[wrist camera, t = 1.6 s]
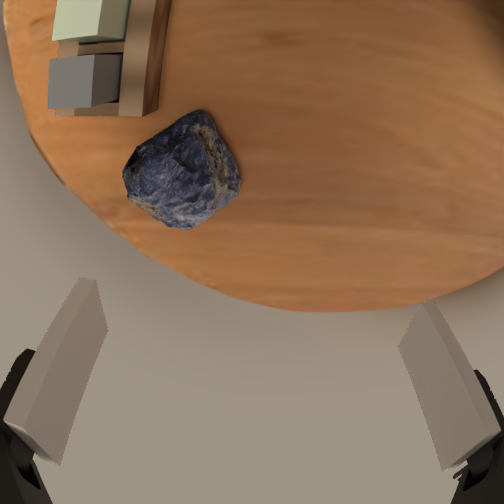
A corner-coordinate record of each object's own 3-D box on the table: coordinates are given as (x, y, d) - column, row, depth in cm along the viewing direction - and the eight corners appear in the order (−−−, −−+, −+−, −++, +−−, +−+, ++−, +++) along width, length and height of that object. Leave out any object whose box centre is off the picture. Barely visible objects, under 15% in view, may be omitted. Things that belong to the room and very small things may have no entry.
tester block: (99, -44, 19) (78, -57, 14) (182, -52, 19) (171, -70, 15) (79, 108, 28) (55, 116, 24) (157, 109, 29) (141, 117, 25)
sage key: (92, 3, 19) (59, -7, 14) (132, -1, 19) (105, -15, 14) (86, 42, 21) (51, 40, 16) (126, 39, 22) (97, 35, 16)
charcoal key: (85, 57, 22) (50, 59, 17) (124, 55, 22) (94, 54, 17) (82, 98, 24) (47, 109, 19) (120, 98, 24) (91, 107, 19)
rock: (192, 85, 26) (183, 165, 21) (249, 151, 34) (256, 230, 29) (110, 139, 30) (89, 219, 25) (172, 187, 38) (166, 262, 33)
